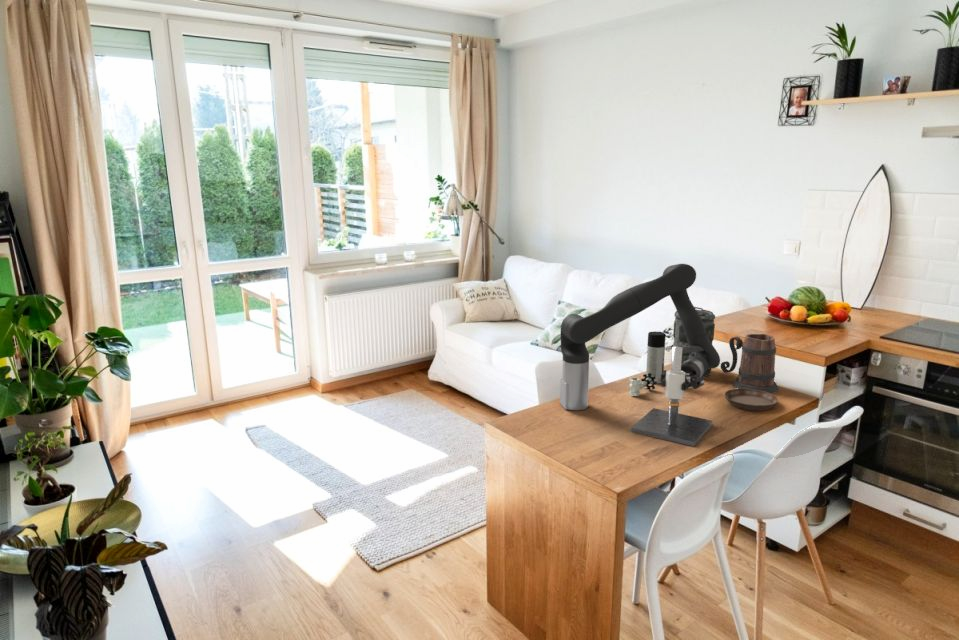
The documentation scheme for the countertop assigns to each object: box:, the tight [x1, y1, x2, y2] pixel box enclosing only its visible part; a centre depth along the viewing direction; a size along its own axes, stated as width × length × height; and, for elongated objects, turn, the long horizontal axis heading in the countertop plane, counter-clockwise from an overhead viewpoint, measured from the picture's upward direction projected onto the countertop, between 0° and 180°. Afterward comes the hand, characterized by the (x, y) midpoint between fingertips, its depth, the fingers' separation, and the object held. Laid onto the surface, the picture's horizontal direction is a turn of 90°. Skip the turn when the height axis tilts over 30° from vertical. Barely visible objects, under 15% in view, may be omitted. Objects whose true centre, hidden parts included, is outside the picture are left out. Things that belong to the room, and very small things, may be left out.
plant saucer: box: [723, 388, 779, 412], centre depth 218 cm, size 18×18×3 cm
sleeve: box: [664, 369, 685, 400], centre depth 195 cm, size 5×5×8 cm
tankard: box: [720, 333, 780, 394], centre depth 237 cm, size 24×17×20 cm
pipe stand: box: [630, 345, 714, 447], centre depth 195 cm, size 20×20×28 cm
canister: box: [672, 306, 716, 378], centre depth 250 cm, size 16×16×28 cm
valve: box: [628, 373, 658, 397], centre depth 230 cm, size 7×7×12 cm
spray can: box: [645, 331, 666, 385], centre depth 241 cm, size 7×7×20 cm
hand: (673, 385), depth 193 cm, fingers closed on sleeve, 5 cm apart
